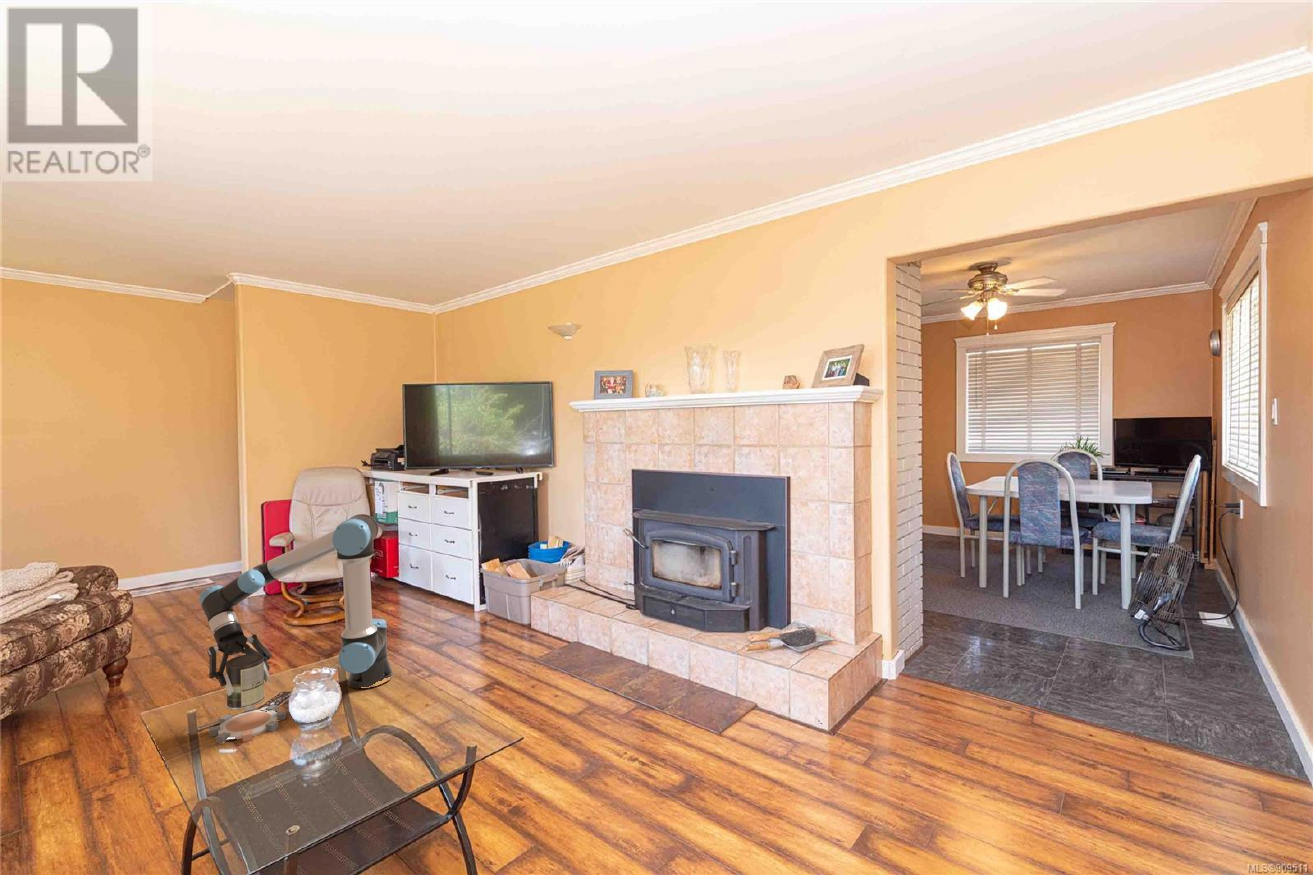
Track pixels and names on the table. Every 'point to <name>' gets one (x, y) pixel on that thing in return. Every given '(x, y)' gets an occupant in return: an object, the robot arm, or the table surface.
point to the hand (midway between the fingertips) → (250, 686)
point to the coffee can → (245, 681)
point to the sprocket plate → (247, 724)
